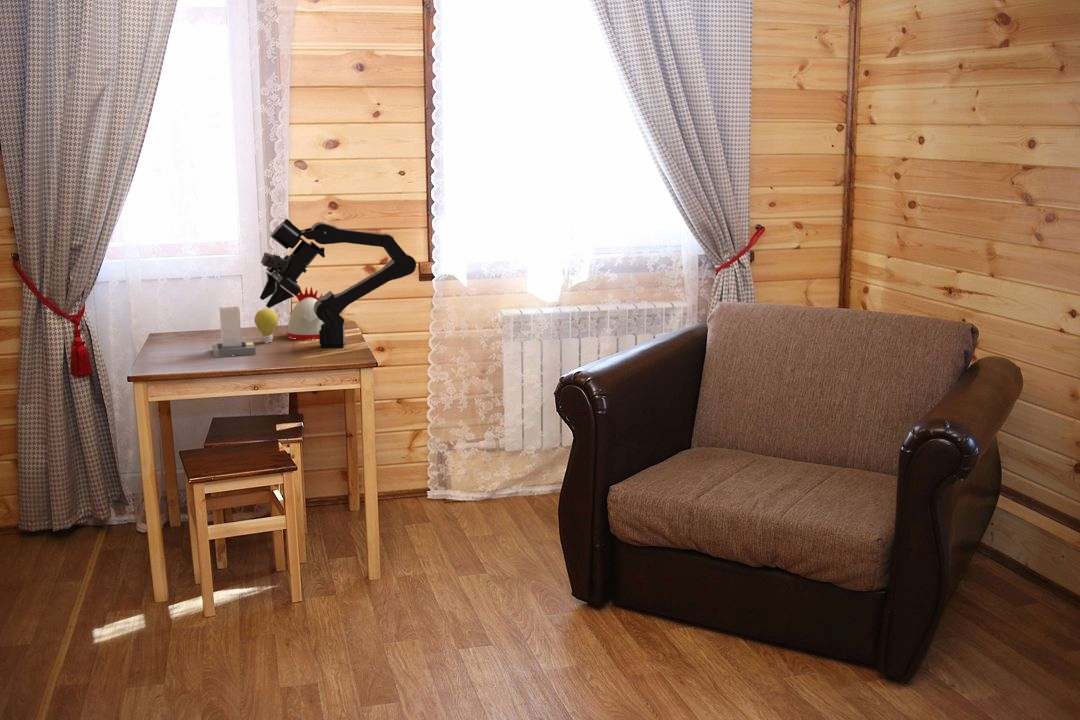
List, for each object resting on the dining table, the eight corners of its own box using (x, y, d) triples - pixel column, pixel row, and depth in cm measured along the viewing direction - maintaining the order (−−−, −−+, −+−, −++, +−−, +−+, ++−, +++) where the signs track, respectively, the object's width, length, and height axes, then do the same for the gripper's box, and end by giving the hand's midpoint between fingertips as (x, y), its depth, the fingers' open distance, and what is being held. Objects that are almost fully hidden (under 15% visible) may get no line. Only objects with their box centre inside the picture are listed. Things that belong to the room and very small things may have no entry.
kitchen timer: (288, 332, 327) (285, 284, 323) (333, 330, 329) (331, 282, 326) (286, 341, 313) (284, 290, 310) (334, 339, 316) (332, 289, 313)
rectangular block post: (240, 350, 300) (238, 306, 297) (242, 353, 296) (239, 309, 293) (222, 351, 298) (219, 307, 296) (223, 355, 294) (220, 310, 291)
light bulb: (267, 345, 307) (265, 311, 304) (250, 343, 310) (248, 309, 308) (284, 341, 312) (282, 308, 310) (267, 339, 316) (265, 306, 313)
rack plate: (252, 347, 304) (252, 340, 303) (255, 354, 294) (255, 346, 294) (212, 350, 300) (212, 342, 300) (214, 357, 291) (213, 349, 290)
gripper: (270, 235, 302) (235, 278, 301) (284, 248, 286) (247, 293, 285) (300, 259, 308) (266, 301, 307) (315, 273, 292) (279, 317, 291)
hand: (264, 302), depth 297 cm, fingers open, 9 cm apart
